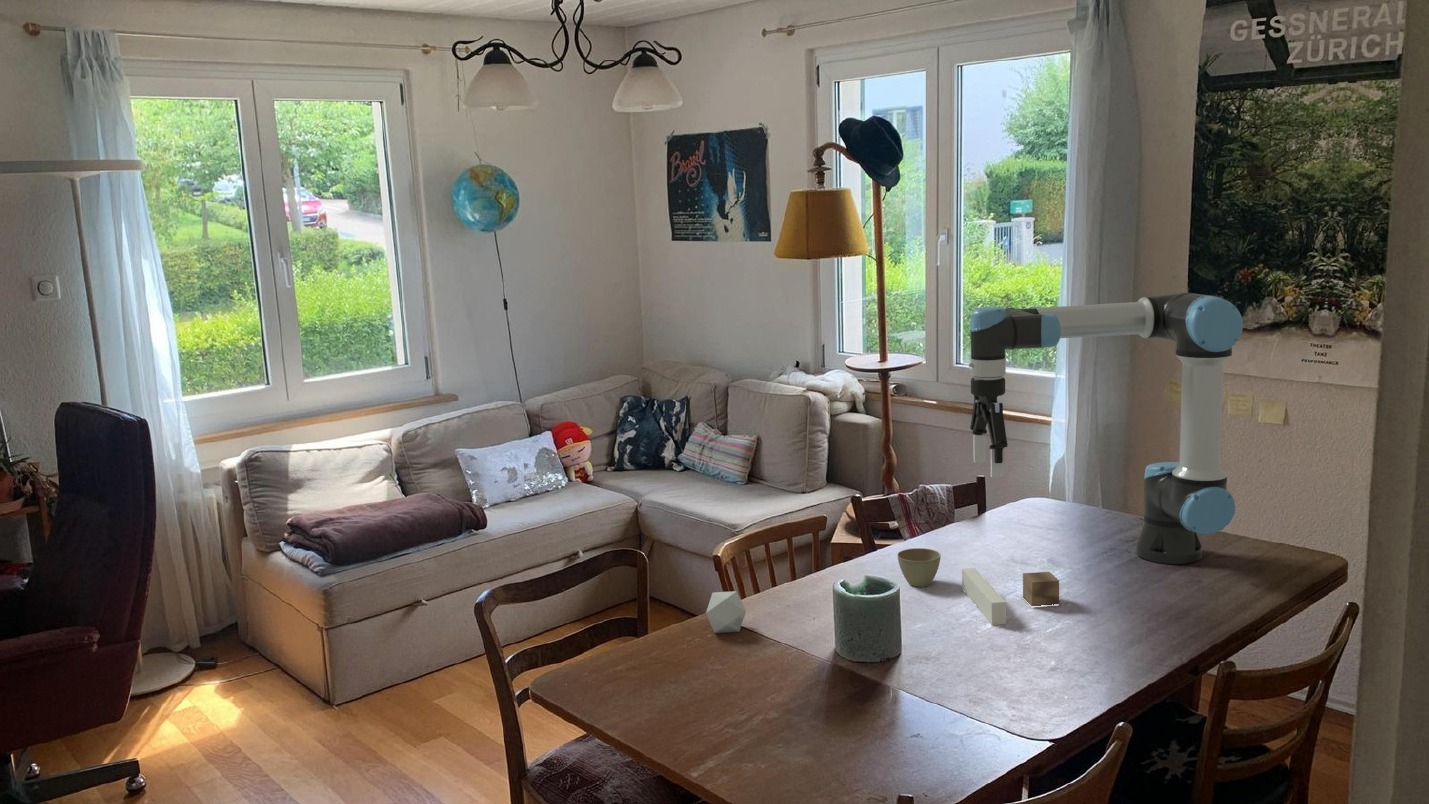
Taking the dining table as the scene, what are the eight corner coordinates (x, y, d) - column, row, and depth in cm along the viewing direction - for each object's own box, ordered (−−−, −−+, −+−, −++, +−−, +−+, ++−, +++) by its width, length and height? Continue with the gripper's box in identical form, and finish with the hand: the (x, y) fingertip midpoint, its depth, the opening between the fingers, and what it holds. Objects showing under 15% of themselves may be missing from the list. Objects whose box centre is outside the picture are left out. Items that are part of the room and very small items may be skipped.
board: (975, 588, 254) (975, 567, 253) (1006, 624, 232) (1006, 601, 232) (962, 589, 254) (961, 568, 253) (991, 625, 232) (991, 602, 231)
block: (1049, 597, 247) (1049, 571, 246) (1059, 606, 241) (1059, 580, 240) (1022, 598, 247) (1022, 573, 246) (1032, 608, 241) (1032, 582, 240)
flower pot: (938, 576, 264) (938, 547, 262) (943, 590, 254) (942, 560, 253) (896, 576, 265) (895, 548, 263) (899, 591, 255) (898, 561, 254)
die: (733, 643, 231) (755, 601, 233) (695, 622, 232) (718, 580, 233) (732, 642, 239) (754, 601, 241) (696, 622, 240) (718, 581, 242)
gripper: (956, 369, 258) (957, 457, 262) (987, 387, 234) (988, 484, 237) (988, 367, 258) (988, 456, 262) (1022, 385, 234) (1022, 482, 238)
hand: (988, 469), depth 250 cm, fingers open, 13 cm apart
